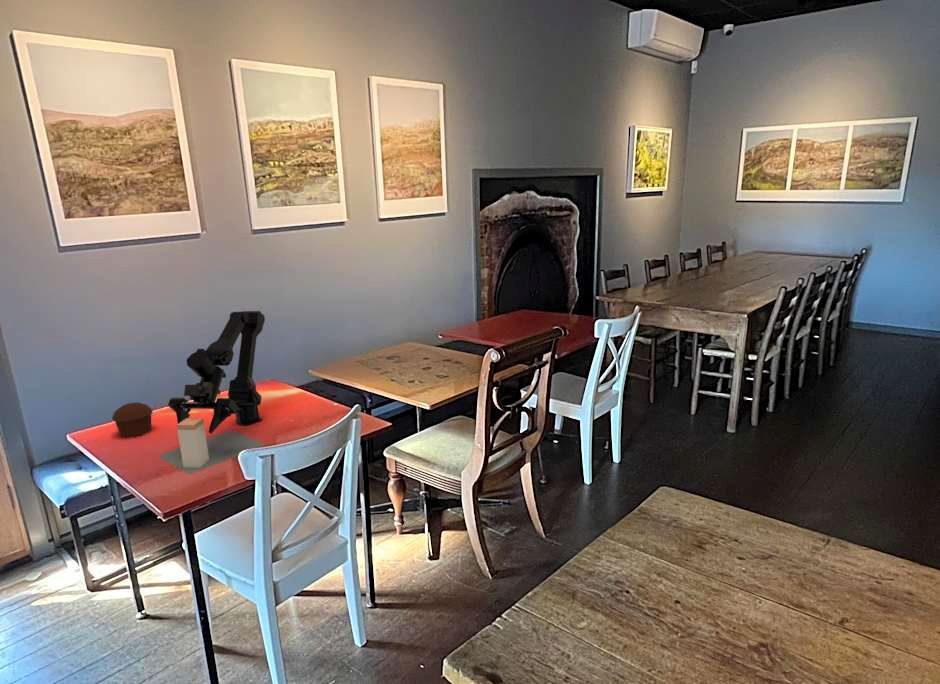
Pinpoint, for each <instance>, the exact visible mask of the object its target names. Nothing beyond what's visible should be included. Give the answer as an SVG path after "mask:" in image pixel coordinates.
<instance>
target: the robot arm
mask: <svg viewBox="0 0 940 684" xmlns="http://www.w3.org/2000/svg"><path fill="white" fill-rule="evenodd" d="M265 318H266V317H265V315H264V314H263V313H262V312H261V311H260V310H244V311H243V310H242V311H233V312H230V314H229V318H228V321H227V323H226V324H225V326H224V328H223V330H222V332H221V333H220V335H219V338H217V340H215V341H213V342H212V343H210V344H209V345H208V347H207V348H206V350H205V348H197V349H196V352H193V353H191V354H190V355H189V356H188V357H187V359H186V365H187V367H188V368H189V369H190V370H192V372H193V373H195V374H196V376H198V377H200V380H199V382H197V383H196V384H185V385H184V393H183V396H184V397H186V396H187V397H189V399H190V400H191V401H188V400H187V399H185V398H184V397H171V398H170V399H169V401H168V404H167V406H168V407H169V408H170V409H171V410H172V411H174V412H175V416H176V420H177V424H179V423H180V422H182V421H183V420H185V419H186V418H190V415H191V414H190V412H191V410H192V409H193V410H194V409H196V410H197V409H199V410H201V409H204V410H208V409H209V410H210V409H211V410H212V409H213V415H212V418H211V421H210V426H209V428H208V433H209V434H213V433H214V431H215V430H216V429H218V427H219V426H220V425H221V424H222V423H223V422H224V421H225V420H226V419H227V418H229V417H231V416H232V415H235V419H236V420H235V422H236V423H237V424H240V425H242V426H245V427H247V426H249V425H251V424H252V425H253V424H254V423H257V422H261V421H263V418H262V417H260V415H259V407H258V406H260V405H261V403H262V395H261V394H260V393H259V392H258V391H257V385H256V383H255V381H254V379H253V373H254V372H253V371H254V363H255V353H256V347H257V346H256V345H257V338H258V336H259V335H260V334H261V333H262V331H263V328H264V324H265V322H266V319H265ZM240 334H241V336H240ZM239 336H240V338H241V340H240V347H239V353H238V354H239V357H238V364H237V372H236V376H235V377H234V379H230V381H229V387H228V390H227V391H228V393H227V397H218V395H221V391H220V387H221V383H222V380H223V379H224V378H227V374H226V372H225V371H224V370H225V369H224V368H221V367H228V366H230V365H231V363H232V361H233V359H234V358H233V357H234V355H235V353H234V350H233V348H234V346H235V344H236V343H237V340H238V338H239ZM220 366H221V367H220ZM217 397H218V398H217Z"/></svg>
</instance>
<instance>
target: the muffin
mask: <svg viewBox="0 0 940 684" xmlns="http://www.w3.org/2000/svg"><path fill="white" fill-rule="evenodd" d="M153 412H154V411H153V409H152V408H151V407H150V406H149V405H148V404H146V403H142V402H140V401H139V402H129V403H126V404H124V405H121V406H119V407H118V408H117V409H116V410H115V411H114V412H113V415H112V417H111V420H112V421H114V422H115V425H116V428H117V431H118V433H119V436H120V437H122V438H123V437H134V438H137V437H136V436H140V437H142V436H141V435H143V434H145V435H147V434H146V433H148V432H149V431H150V430H151V431H152V414H153ZM151 431H150V432H151ZM150 432H149V433H150ZM149 433H148V434H149ZM143 436H144V435H143Z"/></svg>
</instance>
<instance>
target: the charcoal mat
mask: <svg viewBox="0 0 940 684" xmlns="http://www.w3.org/2000/svg"><path fill="white" fill-rule="evenodd" d="M206 441H207V448H208V455H209V460H208V461H207V462H206V463H205V464H204V465H203V466H201V467H200V468H193V467H183V461H182V455H181V449H180V447H178V448H176V449H172V450H171V451H167V452H164V453H161V454H159V455H157V457H158V458H160V459H162V460H164V461H166V462H168V463H169V464H171V465H173V466H174V467H176V468H178V469H180V470H181V471H183V472H184V473H186V474H188V475H191V474H194V473H197V472H199V471H201V470H204V469H207V468H210V467H212V466H214V465H217V464H220V463H223V462H225V461H228V460H230V459H233V458H236V457H238V454H239V452H241V451H243V450H246V449H251V448H257V449H260V448H262V447H264V446H266V443H262V442H260V441H258V440H256V439H254V438H251V437H249V436H247V435H245V434H243V433H240V432H238V431H235V430H234V429H232V430H228V431H226V432H222V433H219V434H217V435H214V436H210V437H208V438H206ZM259 447H260V448H259Z"/></svg>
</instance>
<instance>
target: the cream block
mask: <svg viewBox="0 0 940 684" xmlns="http://www.w3.org/2000/svg"><path fill="white" fill-rule="evenodd" d="M204 421H205V420H204V418H199V417H198V418H195V417H192V418H191V417H189V418H186V419H185V420H183V421H182V422H180V423H179V424H178V423H177V424H176V429H177V435H178V442H179V448H180V449H181V455H182V461H183V467H193V468H200V467H201V466H203V465H204V464H205V463H206V462H207V461H208V460H209V455H208V448H207V441H206V439H207V436H206V428H205V422H204Z"/></svg>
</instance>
